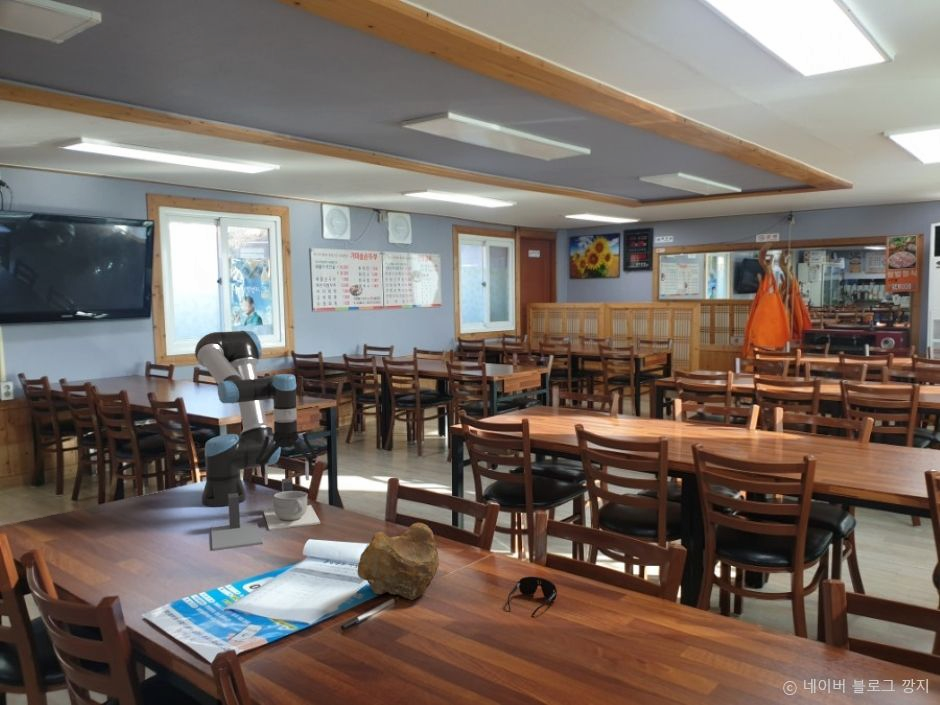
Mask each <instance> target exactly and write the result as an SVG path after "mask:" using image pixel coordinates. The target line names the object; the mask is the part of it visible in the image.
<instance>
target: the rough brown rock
mask: <svg viewBox="0 0 940 705" xmlns="http://www.w3.org/2000/svg"><path fill="white" fill-rule="evenodd" d="M439 565H440V562H439V551H438V549H437V544H436V541H435V538H434V533H433V531H432V529H431V528H430V527H429V525H427V524H425V523H422V522H415V523H413V524H411V525H410V526H409V527H408V528H407V529H406V531H404V533H402V534H401V535H398V536H397V535H396V536H392V537H391V536H390V537H389V536H388V535H387V534H386V533H385V532H383V531H378V532H375V533H373V535H372V536H371V541H370V543H369V544H368V545H367V547H366V548H365V549H364V550H363V552H362V553H361V554H360V557H359V562H358V564H357V576H358V578H360V579H362V580H364V581H367V583H368V585H369V586H370V588H371V590H372V591H373V593H374V594H376V595H384V594H386V593H389V594H390V595H399V596H401V597H403V598H404V599H408V600H410V601H413V600H415V599H417V598H419V597H420V596H421V595H422V594H423V592H424V591H425V589H426V588H427V585H428V584H429V583H431V581H433V579H434V577H435V576H436V575H437V574H436V573H437V570H438V568H439Z"/></svg>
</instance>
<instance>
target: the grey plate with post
mask: <svg viewBox="0 0 940 705" xmlns="http://www.w3.org/2000/svg"><path fill="white" fill-rule="evenodd" d="M293 486H294V485H293V480H292V478H291V477H290V478H289V477H288V478H281V492H285V491H294V490H293V489H294V488H293ZM263 515H264V519H265V521H266V524H267V528H268V531H275V530H284V529H290V528H299V527H305V526H313V525H321V520H320V519H319V517H318V515H317V513H316V512H315V510H314V508H313V505H312V504H307V510H306V513H305V514H304V515H303V516H302V517H301V518H299V519H295V520H283V519H281V518H279V517H278V516H277V515H276V514H275V511H274V509H273V508H272V509H265V510H263Z"/></svg>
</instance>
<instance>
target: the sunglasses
mask: <svg viewBox="0 0 940 705" xmlns="http://www.w3.org/2000/svg"><path fill="white" fill-rule="evenodd" d="M538 587H540V588H541V591H542V594H543V598H545V597H547V598H548V599H547V598H546V600H545V602H544V603H542V604H541V605H540V606H538V607H536V608H535V610H534V611H533V612H532V614H531V615H534V616H535V615H536V613H537V611H538V610H539V609H541V608H543V606H545V605H546V604H547V603H548V602H551V601H555V600H556V598H557V595H558V589H557V586H556V585H555V583H553V581H550V580H549V579H546V578H543V577H539V576H533V575H532V576H525V577H522V578H520V579H519V580H518V581H517V582H516V584H515V586H514V587H513V589H512V590H511V591H510V592H509V594H508V596H507V606H508V610H511V611H512V609H511V606H510V598H511V595H514V594H515V592H516V591H517V590H518V589H519V592H520V593H521V595H524V594H534V595H535V594H536V592H537V589H538ZM551 599H552V600H551Z"/></svg>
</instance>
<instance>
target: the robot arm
mask: <svg viewBox="0 0 940 705" xmlns="http://www.w3.org/2000/svg"><path fill="white" fill-rule="evenodd" d="M194 355H195V359H196V361H197V362H198V363H199V365H200V366H202V367H203V368H206V369H207V371H208V372H209V374H210V375H211V377H212V378H213V379H214V381H215V382H216V383H217V385H218V386H217V396H218V399H219V401H220V403H222V404H232V405H233V404H237V403H238V406H239V407H238V408H239V412H240V418H241V424H242V427H243V428H242V430H241V432H240V433H239V434H240V436H239V435H238V434H237V433H229V434H222V435H221V434H220V435H218V436H215V437H212V438H210V439H209V440H207V441H206V442H205V445H204V458H205V463H204V464H205V479H206V481H205V485H204V488H203V492H202V495H201V503H202V504H203V505H204V506H208V507H225V506H229V505H228V494H232V493H238V496H239V504H240V503H242V502H245V501H246V499H247V493H246V492H247V491H246V490H245V487H244V484H243V481H242V479H241V470H246V469H252V468H260V473H261V475H264V484H265V485H268V484H269V481H268V466H271V465H276V463H277V462H278V461H279V458H280V456H281V449H285V448H292V447H295V449H297V450H298V452H300V453H301V455H303V456H304V458H305V460H304V464H305V465H304V466H305V469H304V470H305V473H304V474H305V480H306V481H309V480H310V473H309V472H310V471H311V470H313V466H312V463H313V460H316V459H318V455H317V454H316V452H315V450H314V448H313V447H312V445H311V443H310V441H309V439H308V435H307V433H306V432H305V431H303V432H301V433H298V421H297V418H298V417H297V414H298V413H297V381H296V376H295V375H294V374H292V373H278V374H274V376H273V375H267V376H264V377H260V378H258V373H257V368H256V366H257V365H258V364H259V360H260V359H261V357H262V344H261V340H260V339H259V337H258V335H257V334H256V333H255V332H253V331H252V330H236V331H235V330H234V331H233V330H232V331H216V332H210V333H207V334H206V335H204V336H203V337H201V338H200V339H199V341H198V342H197V344H196V345H195V348H194ZM266 400H273V401H272V402H273V420H274V422H273V427H272V426H270V425H268V422H267V417H266V413H265V409H264V408H265V407H264V402H263V401H266ZM273 431H274V432H273ZM299 438H300V439H301V440H303V443H304V444H305V445H306V448H307V449H308V451H309V453H310V454H311V455H310V454H308V453H307V452H306V450H304V448H303V447H302V446H300V444H298V442H297V441H298V439H299Z"/></svg>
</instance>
